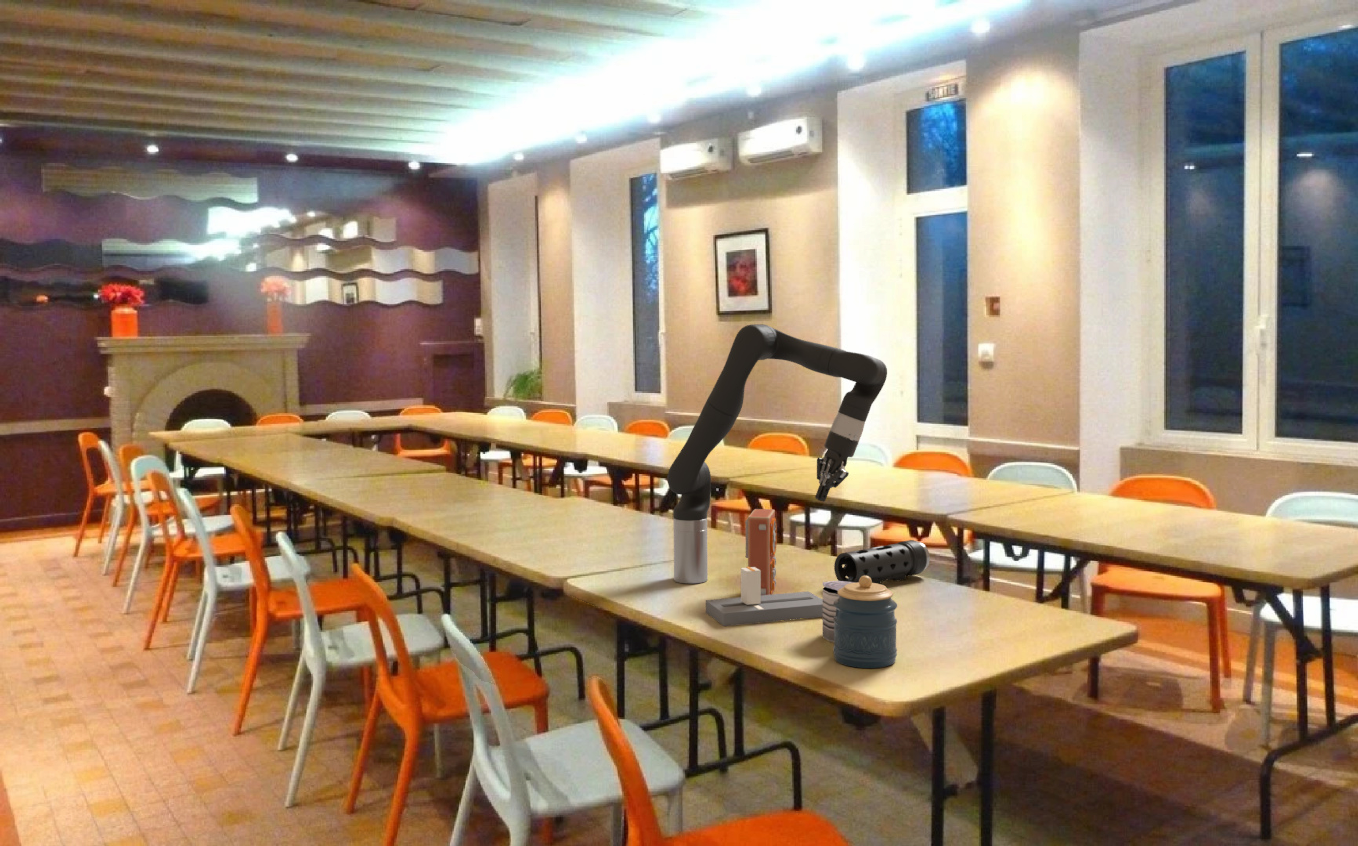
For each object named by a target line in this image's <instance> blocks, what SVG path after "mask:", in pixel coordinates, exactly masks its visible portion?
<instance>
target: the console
mask: <svg viewBox="0 0 1358 846" xmlns="http://www.w3.org/2000/svg"><path fill="white" fill-rule="evenodd" d="M705 613H706V614H707V615H708V616H710V617H711V618H712V619H713V620H715V621H716V622H718V623H719V624H721V626H723V627H727V626H728V627H729V626H730V625H731V626H739V625H749V624H751V623H752V624H759V623H758V622H763V623H772V622H780V621H781V620H784V621H794V620H793V619H795V620H801V619H800V618H805V619H815V618H823V598H821V597H819V596H817V595H815V594H814V593H812V592H810V591H797V592H796V591H795V592H786V593H773V594H772V595H761V604H751V605H746V604H745V603H743V602H742V601H741V596H739V597H727V598H726V597H725V598H717V599H715V598H714V599H705ZM790 619H791V620H790ZM752 624H751V625H752Z"/></svg>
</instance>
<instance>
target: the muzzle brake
mask: <svg viewBox="0 0 1358 846" xmlns="http://www.w3.org/2000/svg"><path fill="white" fill-rule="evenodd" d="M930 559H931V557H930V552H929V549H928V547H927V546H926V544H924V543H923V542H921V541H917V540H914V539H913V540H912V539H910V540H904V541H899V542H897V543H894V544H888V545H887V544H886V545H881V546H876V547H869V548H863V549H859V550H853V551H847V552H842V553H839V554H838V555H837V556H836V558H835V560H834V563H833V564H834V565H833V567H834V568H833V570H834V574H835V578H836V580H837V581H845V582H855V583H857V582H859V579H860V578H861V577H862V576H869V577H870V578H871V580H872V583H877V584H881V583H882V582H884V581H890V580H892V581H895V582H899V581H903V580H906V577H911V576H916V575H919V574H921V573H922V572H924V570H926V569H927V568H928V567H929V564H930ZM881 585H882V584H881Z"/></svg>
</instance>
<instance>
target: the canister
mask: <svg viewBox="0 0 1358 846" xmlns="http://www.w3.org/2000/svg"><path fill="white" fill-rule="evenodd" d="M838 595H840V596H839V598H838V599H836V600H835V601H834V603H833V604H834V606H835V607H836V616H834V643H833V647H832V648H833V651H832V652H833V655H834V656H833V657H834V660H835V661H836V662H837V663H839V664H842V665H844V666H848V667H852V668H859V669H860V668H861V669H878V668H884V667H888V666H889V667H890V666H892V665H893V664H894V663H896V661H897V660H896V658H897V655H898V649H897V623H898V619H897V618H896V615H895V610H896V609H897V608H898V603H897V602H896V601H895V600H893V598H892V597H893V596H894V592H893V591H892V590H891V589H889V588H887V587H886V586H885V585H884V584H878V583H872V580H871V578H870V577H869V576H862V577H861V578H860V579H859V582H857V583H850V584H847V585H845V586H844V587H843V588H841V589H839V590H838Z"/></svg>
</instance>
